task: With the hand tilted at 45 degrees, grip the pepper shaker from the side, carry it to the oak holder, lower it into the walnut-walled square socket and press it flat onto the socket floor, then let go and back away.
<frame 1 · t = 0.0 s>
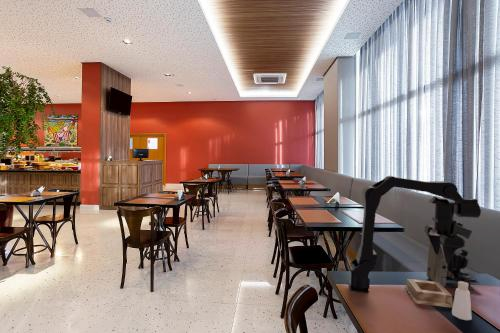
hand: (441, 258, 104), 15 cm above the table, fingers open, 9 cm apart
socket holder: (427, 297, 105), on the table
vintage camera: (451, 284, 117), on the table
pepper shaker: (461, 316, 93), on the table
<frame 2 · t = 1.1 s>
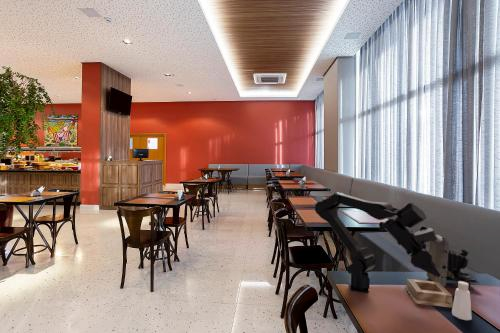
hand: (436, 271, 96), 13 cm above the table, fingers open, 9 cm apart
nothing on the table moved.
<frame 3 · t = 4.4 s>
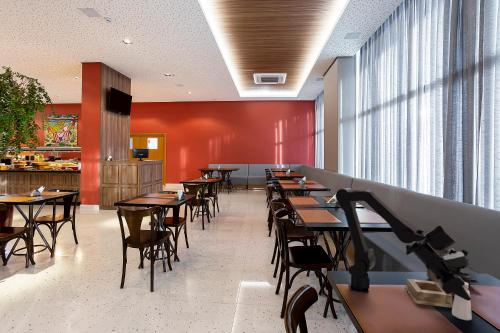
hand: (467, 297, 92), 7 cm above the table, fingers closed on pepper shaker, 4 cm apart
pepper shaker: (461, 316, 93), on the table, touching gripper
everything else where it was.
when the fingers open (8 cm above the table, at t = 9.3 s): pepper shaker stays where it is, resting on socket holder.
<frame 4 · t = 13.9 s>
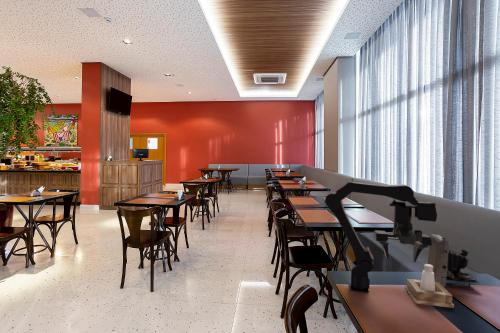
hand: (400, 260, 106), 13 cm above the table, fingers open, 9 cm apart
pepper shaker: (427, 295, 105), point 1 cm above the table, touching socket holder
everything else where it was.
at the end: pepper shaker 0.2 cm off-centre on the socket holder, point 0.8 cm above the socket holder's base; pepper shaker tilted 0°; the gripper is holding nothing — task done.
